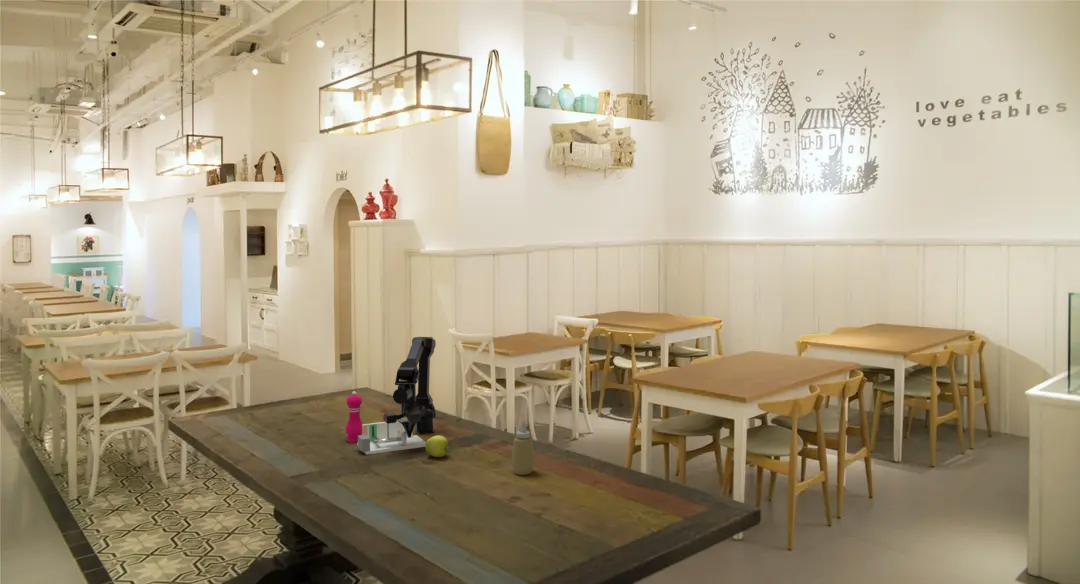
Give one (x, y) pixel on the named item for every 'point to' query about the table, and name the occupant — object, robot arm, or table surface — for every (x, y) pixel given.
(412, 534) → the table surface
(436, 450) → the apple
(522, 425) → the squeeze bottle
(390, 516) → the table surface
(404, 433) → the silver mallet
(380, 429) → the gauge base
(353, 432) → the pepper mill
